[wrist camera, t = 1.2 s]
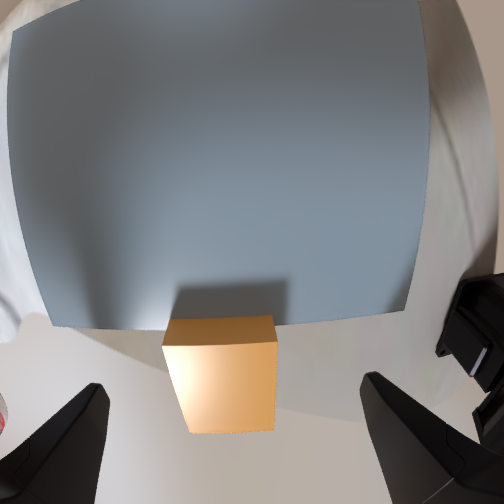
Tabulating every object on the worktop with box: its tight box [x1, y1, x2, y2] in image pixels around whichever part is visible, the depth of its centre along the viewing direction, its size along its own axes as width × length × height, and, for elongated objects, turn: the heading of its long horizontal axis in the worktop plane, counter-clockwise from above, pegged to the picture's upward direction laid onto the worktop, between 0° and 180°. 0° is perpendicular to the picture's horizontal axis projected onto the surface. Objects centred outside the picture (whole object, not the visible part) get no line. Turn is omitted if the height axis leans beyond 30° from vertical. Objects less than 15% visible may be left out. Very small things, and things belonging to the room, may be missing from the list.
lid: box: [7, 0, 430, 433], centre depth 8 cm, size 12×14×3 cm
